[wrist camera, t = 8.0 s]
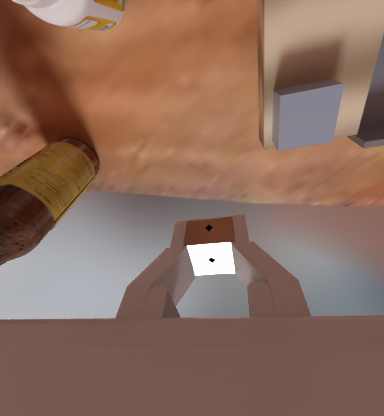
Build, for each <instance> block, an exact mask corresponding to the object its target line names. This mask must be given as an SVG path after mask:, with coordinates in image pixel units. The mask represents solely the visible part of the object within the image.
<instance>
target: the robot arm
mask: <svg viewBox="0 0 384 416" xmlns="http://www.w3.org/2000/svg"><path fill="white" fill-rule="evenodd" d="M226 273H235V275H236V276H237V278H238V279H239V280H240V282H241V283H242V284H243V286H244V287H245V288H246V289H247V291H248V303H249V315H250V317H209V318H208V317H203V318H202V317H201V318H181V317H180V315H179V313H178V311H177V308H176V305H177V304H178V302H179V301H180V299H181V298H182V296H183V295H184V293H185V292H186V290H187V289H188V287H189V286H190V284H191V283H192V281H193V280H194V278H195V277H196V276H195V275H206V274H226ZM0 416H384V315H383V316H311V314H310V311H309V309H308V306H307V303H306V300H305V297H304V295H303V292H302V289H301V286H300V283H299V281H298V279H297V278H295V277H294V276H293V275H292V274H291V273H289V272H288V271H287V270H286V269H285V268H284V267H282V266H281V265H280V264H279V263H278V262H276V261H275V260H274V259H273V258H272V257H271V256H269V255H268V254H267V253H266V252H265V251H264V250H262V249H261V248H260V247H259V246H258V245H257V244H255V243H254V242H253V241H252V242H249V238H248V232H247V226H246V221H245V216H244V215H237V216H231V217H221V218H211V219H197V220H188V221H177V222H176V224H175V229H174V233H173V238H172V242H171V246H170V248H166V249H165V250H164V252H162V253H161V254H160V255H159V256H158V257H157V258H156V259H155V260H154V261H153V262H152V263H151V264H150V265H149V266H148V267H147V268H146V269H145V270H144V271H143V272H142V273H141V274H140V275H139V276H138V277H137V278H136V279H135V280H134V281H132V282H131V283H130V284H129V285H128V286H127V289H126V291H125V294H124V297H123V299H122V302H121V305H120V307H119V310H118V313H117V315H116V318H112V319H110V318H109V319H19V320H18V319H14V320H13V319H10V320H0Z"/></svg>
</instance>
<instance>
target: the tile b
mask: <svg viewBox="0 0 384 416" xmlns="http://www.w3.org/2000/svg"><path fill="white" fill-rule="evenodd" d="M343 88H344V83H342V82H338V81H335V80H331V79H327V80H322V81H317V82H312V83H307V84H302V85H297V86H293V87H288V88H283V89H278V90H273V118H272V141H273V143H274V145H275V146H276V148H277V150H284V149H290V148H297V147H304V146H310V145H317V144H324V143H330V142H333V138H334V133H335V128H336V123H337V118H338V113H339V108H340V103H341V98H342V93H343Z"/></svg>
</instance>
